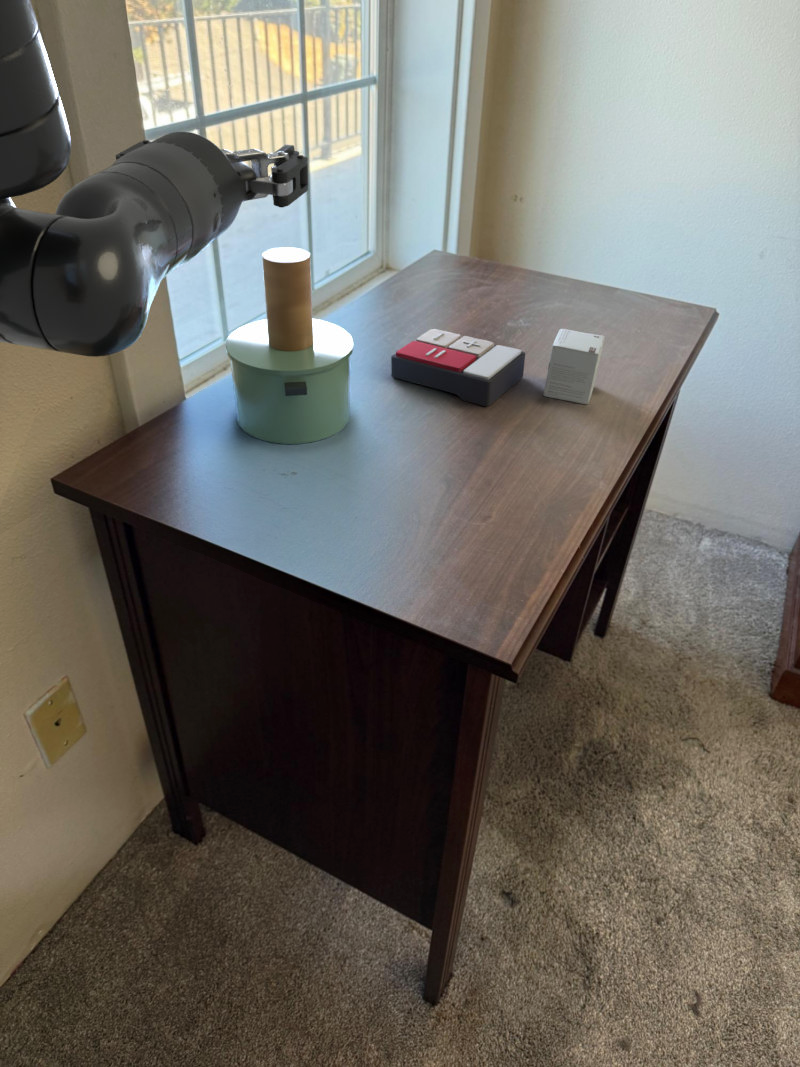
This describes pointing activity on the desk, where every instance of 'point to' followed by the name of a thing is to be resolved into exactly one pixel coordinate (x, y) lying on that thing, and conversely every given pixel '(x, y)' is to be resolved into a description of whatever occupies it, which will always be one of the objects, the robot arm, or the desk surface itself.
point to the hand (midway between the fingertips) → (243, 153)
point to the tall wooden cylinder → (288, 298)
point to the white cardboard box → (573, 366)
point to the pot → (291, 384)
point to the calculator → (459, 365)
